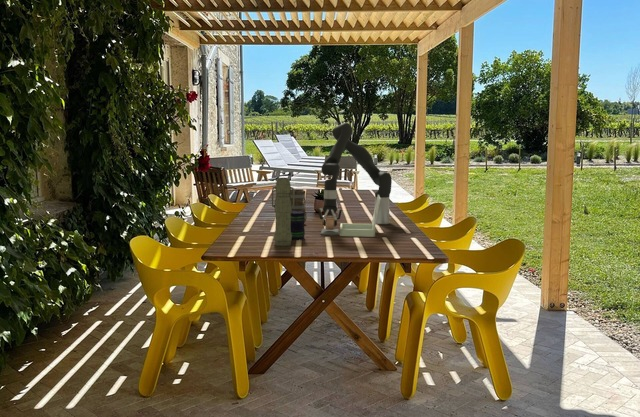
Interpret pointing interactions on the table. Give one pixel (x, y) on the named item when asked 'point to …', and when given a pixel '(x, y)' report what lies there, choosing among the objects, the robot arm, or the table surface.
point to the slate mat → (329, 232)
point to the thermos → (283, 211)
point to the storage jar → (297, 225)
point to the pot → (329, 223)
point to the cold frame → (361, 226)
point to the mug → (298, 200)
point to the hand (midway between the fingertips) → (329, 226)
